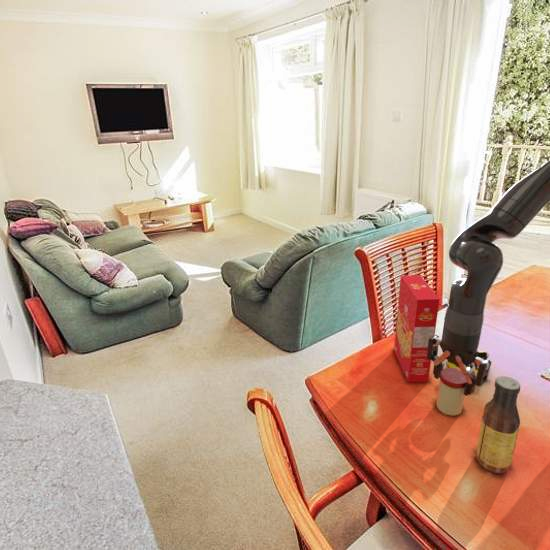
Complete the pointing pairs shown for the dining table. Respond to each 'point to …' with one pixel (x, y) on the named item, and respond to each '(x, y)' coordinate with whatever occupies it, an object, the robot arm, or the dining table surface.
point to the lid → (453, 378)
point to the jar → (450, 399)
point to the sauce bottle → (499, 427)
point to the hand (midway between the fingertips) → (452, 385)
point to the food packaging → (415, 326)
